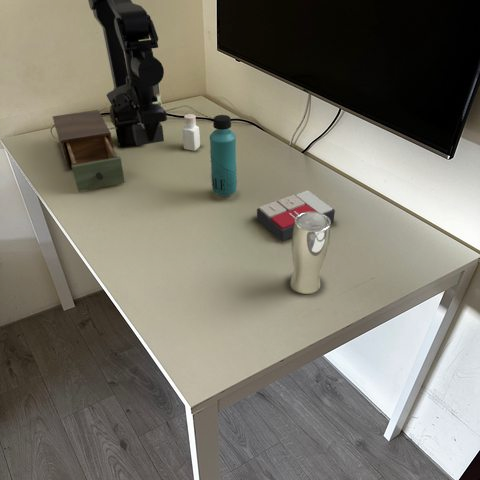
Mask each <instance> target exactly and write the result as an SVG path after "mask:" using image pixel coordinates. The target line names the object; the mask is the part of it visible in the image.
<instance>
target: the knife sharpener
mask: <svg viewBox="0 0 480 480" xmlns="http://www.w3.org/2000/svg"><path fill="white" fill-rule="evenodd" d="M132 128H133V134H134V140H135V142H136V144H137V145H138V146H137V147H140V146H139V145H141V146H145V145H150V144H155V143H161V142H165V138H164V137H165V136H164V129H163V125H162V124H161V122H159V125H158V127H157V130H156V133H155V137H154V140H153V141H149V140H148V137H147V134H146V131H145V128H144V125H143V124H141V122H140V123H138V124H137V125H132Z"/></svg>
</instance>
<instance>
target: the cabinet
mask: <svg viewBox="0 0 480 480" xmlns="http://www.w3.org/2000/svg"><path fill="white" fill-rule="evenodd" d="M52 120H53V124H54V128H55V131H56V135H57V139H58V142H59V145H60V149H61V151H62V154H63V157H64V160H65V163H66V167H67V169H68V170H72V166H71V165H72V164H71V161H70V157H69V153H68V150H67V146H66V142H70V141H77V140H83V139H89V138H95V137H101V136H106V137H107V139H108V141H109V142H110V144H111V146H112V148H113V150H114V145H113V139H112V135H111V134H112V133H111V131H110V129H109V128H108V125H107V124H106V122H105V120H104V117H103V116H102V114H101V113H100V110H99V109H93V110H87V111H86V110H85V111H79V112H73V113H67V114H66V113H65V114H58V115H53V116H52ZM114 151H115V150H114Z"/></svg>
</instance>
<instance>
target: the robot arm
mask: <svg viewBox="0 0 480 480" xmlns="http://www.w3.org/2000/svg"><path fill="white" fill-rule="evenodd" d="M87 2H88V5H89V9H90V10H91V11H92V15H93V17H94V18H95V20H96V21H97V22H98V25H100V26H101V28H102V32H103V37H104V43H105V47H106V53H107V58H108V63H109V68H110V73H111V78H112V84H113V90H111V91H109V92H108V93H107V94H106V97H107V100H108V101H109V103H110V104H111V105H110V107H109V117H110V121H111V123H112V125H113V127H114V128H115V134H116V141H117V144H119V147H120V148H122V149H123V148H130V147H131V148H133V147H140V146H142V145H139V146H138V145H137V144H136V142H135V140H134V134H133V128H132V125H137V124H143V125H144V128H145V131H146V134H147V137H148V140H149V141H153V140H154V137H155V133H156V130H157V127H158V125H159V122H160V123H162V122H166V121H167V120H168V117H167V111H166V110H165V108H163V106H162V107H161V106H160V105H159V104H153V102H158V100H157V96H156V95H155V91H154V86H155V85H157V84H158V83H159V84H161V81H162V80H163V78H164V75H165V69H164V66H163V64H162V62H161V61H160V60H159V59H158V58H156V57H155V56H154V52H153V49H159V43H158V42H159V36H158V33H157V30H156V27H155V24H154V21H153V20H152V17H151V16H150V14H148V12H147V11H146V9H145V8H144V7H143V6H142V5H140V4H136V3H134V2H133V1H132V0H87ZM140 122H141V123H140Z"/></svg>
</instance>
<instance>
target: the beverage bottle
mask: <svg viewBox="0 0 480 480" xmlns="http://www.w3.org/2000/svg"><path fill="white" fill-rule="evenodd" d="M212 123H213V128H214V129H215V130H213V131H212V132H211V133H210V135H209V142H210V143H209V145H210V147H209V149H210V150H209V153H210V154H209V157H210V164H211V165H210V166H211V167H210V169H211V170H210V172H211V174H210V179H211V189H212V191H213V193H214V194H215V195H217V196H220V197H227V196H231V195H234V194H235V193H236V192H237V154H236V153H237V152H236V151H237V149H236V148H237V147H236V139H237V135H236V133H234V132H233V131H232V130H231V128H232V120H231V116H229V115H227V114H218V115H215V116H214V117H213V122H212Z"/></svg>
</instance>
